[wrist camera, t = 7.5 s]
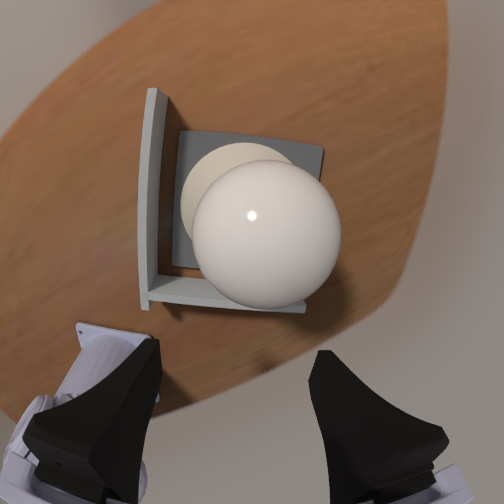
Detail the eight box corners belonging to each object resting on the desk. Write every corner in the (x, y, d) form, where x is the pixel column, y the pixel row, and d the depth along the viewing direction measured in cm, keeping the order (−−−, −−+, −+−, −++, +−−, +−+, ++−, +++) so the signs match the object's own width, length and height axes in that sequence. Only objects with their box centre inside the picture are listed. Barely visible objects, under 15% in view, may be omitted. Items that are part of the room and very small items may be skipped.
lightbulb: (312, 175, 19) (393, 206, 9) (280, 256, 21) (320, 353, 11) (226, 144, 18) (213, 133, 8) (198, 230, 20) (161, 314, 10)
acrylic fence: (294, 302, 23) (302, 323, 20) (151, 290, 22) (141, 309, 19) (326, 114, 18) (341, 108, 15) (160, 96, 17) (147, 88, 14)
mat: (300, 275, 22) (301, 277, 22) (172, 264, 21) (171, 266, 21) (322, 146, 19) (324, 146, 18) (180, 130, 18) (179, 130, 17)
